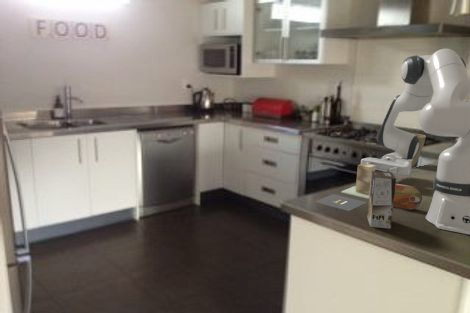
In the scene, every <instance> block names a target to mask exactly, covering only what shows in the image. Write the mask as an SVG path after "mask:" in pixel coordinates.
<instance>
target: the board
mask: <svg viewBox="0 0 470 313" xmlns="http://www.w3.org/2000/svg"><path fill="white" fill-rule="evenodd" d="M340 193H341V194H345V195H349V196H353V197H358V198H361V199H362V198H363V199H366V200H369V194H368V195H366V194H361V193H357V192H356V185H354V186H351V187H350V188H346V189H344V190H342V191H340Z"/></svg>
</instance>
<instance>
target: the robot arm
mask: <svg viewBox="0 0 470 313" xmlns="http://www.w3.org/2000/svg"><path fill="white" fill-rule="evenodd" d="M400 73H401V79H402V80H403V82H404V83H405V86H404V90H403V91H402V93H401V94H398V95H396V96H395V98H394V99H393V100H392V101H391V103H390V105H389V107H388V110H387V112H386V113H385V114H386V115H385V117H384V120H383V122H382V124H381V126H380V128H379V129H378V131H377V133H376V136H375V140H376V142H377V143H378V145H379V146H381V147H384V148H386V149H390V150H393V152H391V153H387V154H385V155H383V156H382V157H381V158H377V157H365V158H362V159H361V160H360V164H363V163H365V164H371V165H376V166H375V171H381V172H391V173H392V174H393V175H401V176H408V175H410V174H411V172H412V167H413V166H412V161H413V158H414V157H415V156H416V155H417V153H418V151H419V148H420V141H419V138H418V136H416V135H414V134H411V133H412V132H409V131H405V130H403V129H400V128H398V127H396V126H395V123H396V120H397V118H398V117H399V114H400V113H401V112H418V111H420V112H419V117H418V121H419V122H418V124H419V127H420V128H421V129H422V131H423V132H424V133H426V134H429V135H432V136H438V137H448V138H449V137H452V138H454V137H458V140H457V141H456V143H455V144H454V145H452V146H451V147H448V148H446V149H444V150H443V151H442V152H441V153H440V154H439V156H438V160H437V168H436V176H435V177H434V180H433V184H432V185H433V187H432V194H433V195H432V200H431V203H430V206H429V209H428V210H427V213H426V215H425V220H427V221H428V222H429V223H430V224H433V225H434V226H435V227H436V228H437V229H441V230H444V231H449V232H455V233H460V234H464V235H469V236H470V101H466V99H467V98H468V97H469V96H470V75H469V73H468V70H467V65H466V62H465V60H464V58H462V57H460V56H459V55H458V53H457V52H456V51H455V50H454V49H452V48H441V49H438V50H436V51H435V52H434V53H432V54H426V55H425V54H424V55H411V56H408V57H406V58H405V59H404V60H403V62H402V65H401V70H400Z"/></svg>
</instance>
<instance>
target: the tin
mask: <svg viewBox="0 0 470 313" xmlns="http://www.w3.org/2000/svg"><path fill="white" fill-rule="evenodd" d="M422 202H423V194H422V192H421V190H420V189H418V188H417V187H416V186H413V185H407V184H399V183H396V185H395V194H394V203H393V208H398V209H399V208H400V209H405V210H407V211H408V210H409V211H412V210H415V209H417V208H419V207H420V205H421V203H422Z"/></svg>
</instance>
